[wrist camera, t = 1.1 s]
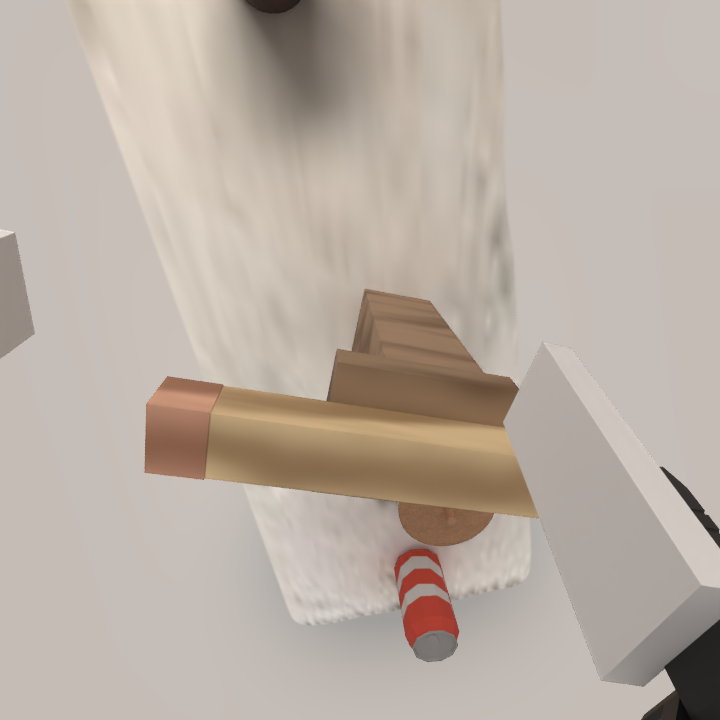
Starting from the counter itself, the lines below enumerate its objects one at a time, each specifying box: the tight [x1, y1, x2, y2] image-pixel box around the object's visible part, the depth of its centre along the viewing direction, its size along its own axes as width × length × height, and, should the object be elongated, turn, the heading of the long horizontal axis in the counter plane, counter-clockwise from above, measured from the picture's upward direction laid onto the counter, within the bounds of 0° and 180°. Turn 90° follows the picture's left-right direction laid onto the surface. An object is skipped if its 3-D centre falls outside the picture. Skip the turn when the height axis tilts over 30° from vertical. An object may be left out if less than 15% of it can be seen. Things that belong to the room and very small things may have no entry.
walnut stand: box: [312, 289, 519, 511], centre depth 38 cm, size 9×11×22 cm
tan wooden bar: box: [145, 377, 539, 518], centre depth 25 cm, size 4×24×3 cm, turn 78°
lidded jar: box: [398, 502, 494, 546], centre depth 52 cm, size 11×11×9 cm
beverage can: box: [394, 549, 459, 662], centre depth 57 cm, size 6×6×12 cm
